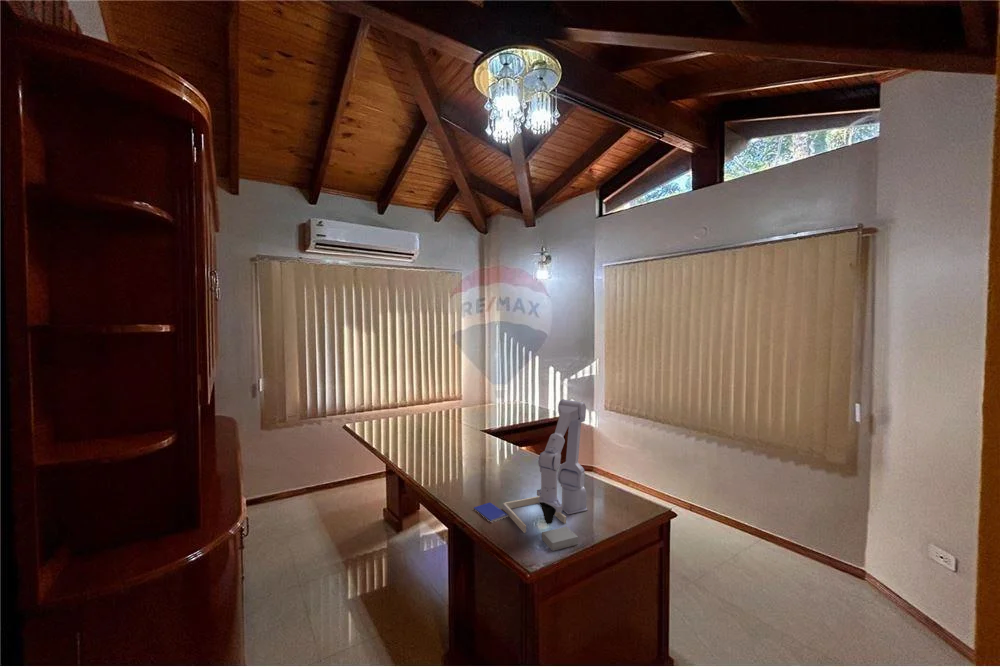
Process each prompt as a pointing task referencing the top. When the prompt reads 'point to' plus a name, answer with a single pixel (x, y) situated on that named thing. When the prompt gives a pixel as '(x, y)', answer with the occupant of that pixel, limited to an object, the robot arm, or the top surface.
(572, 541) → the gray rectangular block
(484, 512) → the hard drive
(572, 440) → the robot arm
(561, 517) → the beige u-shaped frame
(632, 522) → the top surface
